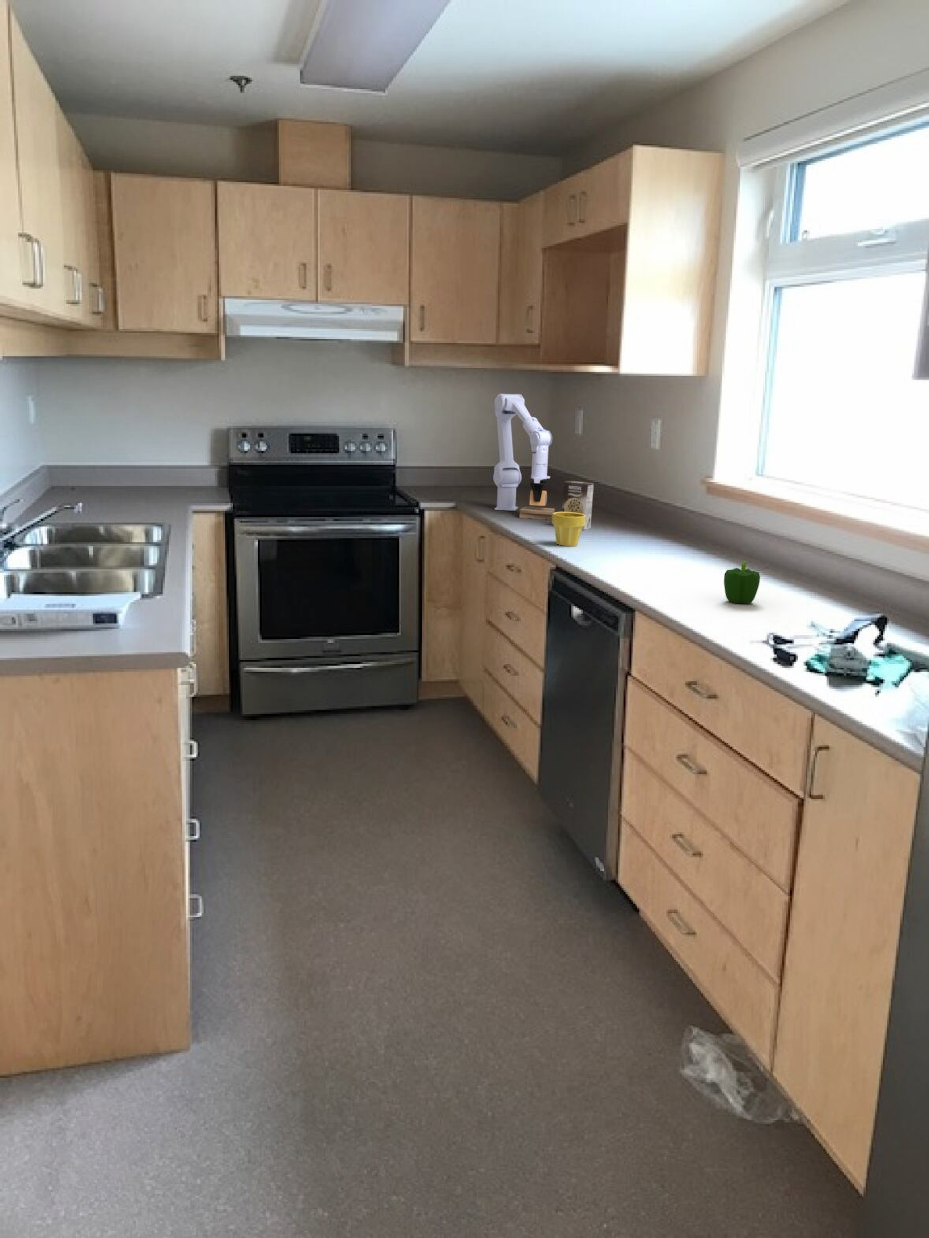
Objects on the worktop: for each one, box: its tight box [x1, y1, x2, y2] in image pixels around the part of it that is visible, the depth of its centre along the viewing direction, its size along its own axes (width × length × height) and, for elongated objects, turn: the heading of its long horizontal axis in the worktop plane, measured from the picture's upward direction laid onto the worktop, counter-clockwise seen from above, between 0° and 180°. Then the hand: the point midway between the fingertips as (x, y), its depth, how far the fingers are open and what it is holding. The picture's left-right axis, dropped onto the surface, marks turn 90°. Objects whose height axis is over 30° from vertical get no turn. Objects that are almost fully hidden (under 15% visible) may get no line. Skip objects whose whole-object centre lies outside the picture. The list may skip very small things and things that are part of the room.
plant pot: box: [551, 511, 585, 547], centre depth 316 cm, size 10×10×10 cm
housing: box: [529, 489, 548, 507], centre depth 371 cm, size 6×4×5 cm
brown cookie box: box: [561, 480, 595, 531], centre depth 349 cm, size 9×6×16 cm
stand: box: [519, 506, 556, 521], centre depth 373 cm, size 10×12×3 cm
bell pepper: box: [723, 560, 761, 605], centre depth 244 cm, size 8×8×10 cm
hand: (537, 500), depth 372 cm, fingers closed on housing, 4 cm apart
